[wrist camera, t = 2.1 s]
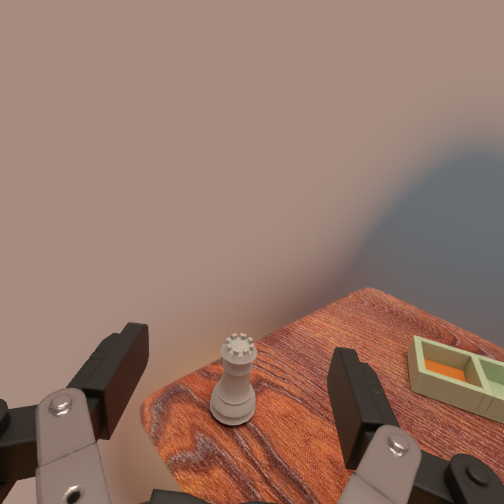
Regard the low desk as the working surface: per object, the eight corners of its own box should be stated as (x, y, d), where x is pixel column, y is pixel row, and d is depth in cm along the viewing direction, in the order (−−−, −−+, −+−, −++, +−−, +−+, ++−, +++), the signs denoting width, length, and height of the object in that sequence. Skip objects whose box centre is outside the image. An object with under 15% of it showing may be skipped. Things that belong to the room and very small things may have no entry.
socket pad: (410, 390, 35) (418, 371, 33) (406, 352, 41) (413, 335, 40) (556, 443, 30) (571, 422, 29) (528, 391, 36) (539, 373, 35)
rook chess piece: (242, 437, 27) (252, 368, 24) (200, 415, 29) (204, 347, 26) (262, 401, 31) (273, 337, 28) (224, 383, 33) (230, 320, 30)
